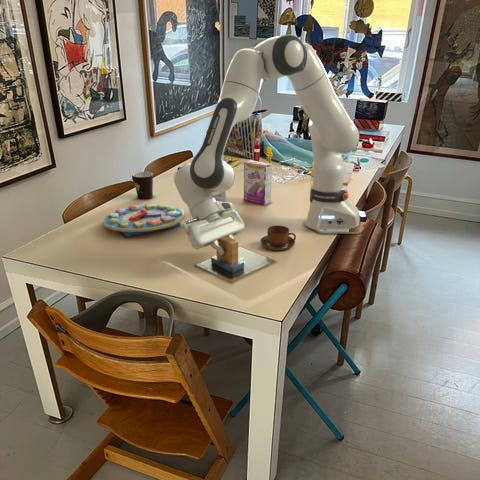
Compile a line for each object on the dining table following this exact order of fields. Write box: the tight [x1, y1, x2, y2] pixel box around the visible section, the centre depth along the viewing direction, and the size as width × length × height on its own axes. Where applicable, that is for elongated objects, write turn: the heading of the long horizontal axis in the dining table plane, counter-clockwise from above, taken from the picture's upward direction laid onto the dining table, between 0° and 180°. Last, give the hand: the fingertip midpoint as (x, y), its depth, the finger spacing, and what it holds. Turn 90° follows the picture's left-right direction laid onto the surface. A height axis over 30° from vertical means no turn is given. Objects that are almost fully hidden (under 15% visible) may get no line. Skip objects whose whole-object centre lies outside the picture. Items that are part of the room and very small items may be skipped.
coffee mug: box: [131, 171, 154, 201], centre depth 209 cm, size 12×9×10 cm
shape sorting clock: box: [102, 203, 185, 238], centre depth 182 cm, size 31×30×6 cm
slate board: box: [195, 246, 275, 282], centre depth 154 cm, size 20×16×1 cm
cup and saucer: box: [260, 225, 297, 251], centre depth 165 cm, size 12×12×6 cm
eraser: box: [210, 236, 244, 273], centre depth 150 cm, size 10×5×9 cm, turn 45°
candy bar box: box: [243, 159, 273, 206], centre depth 201 cm, size 11×5×16 cm, turn 53°
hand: (228, 252), depth 149 cm, fingers closed on eraser, 3 cm apart
